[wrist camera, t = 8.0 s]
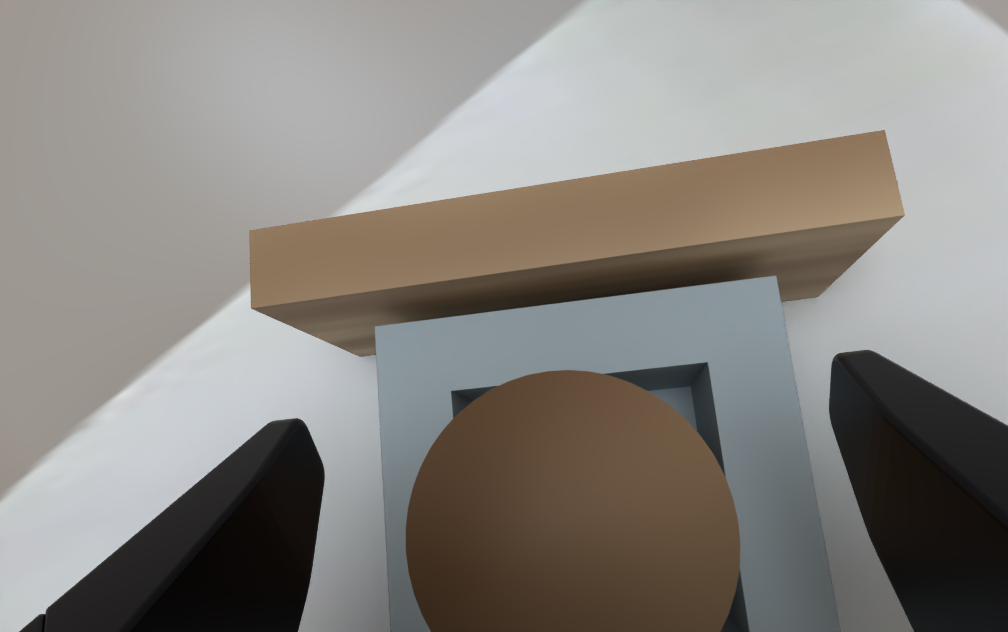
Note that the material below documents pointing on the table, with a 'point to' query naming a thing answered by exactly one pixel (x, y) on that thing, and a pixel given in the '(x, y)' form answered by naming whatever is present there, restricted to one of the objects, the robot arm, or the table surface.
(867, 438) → the robot arm
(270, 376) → the table surface
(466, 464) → the dowel
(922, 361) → the table surface
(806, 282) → the backstop board
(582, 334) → the socket block
